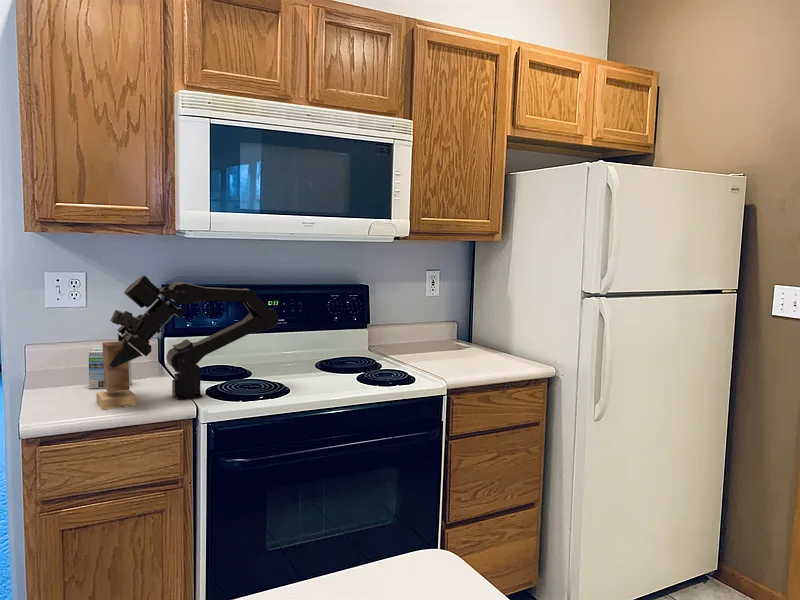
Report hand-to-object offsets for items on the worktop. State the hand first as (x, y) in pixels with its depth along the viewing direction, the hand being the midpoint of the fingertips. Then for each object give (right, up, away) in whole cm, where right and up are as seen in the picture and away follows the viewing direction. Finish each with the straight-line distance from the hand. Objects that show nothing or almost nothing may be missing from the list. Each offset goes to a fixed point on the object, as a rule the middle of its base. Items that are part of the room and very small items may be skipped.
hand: (110, 364), depth 165 cm
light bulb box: (-9, -8, +20) cm, 24 cm away
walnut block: (+1, -7, +2) cm, 7 cm away
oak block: (+1, -11, +2) cm, 11 cm away
